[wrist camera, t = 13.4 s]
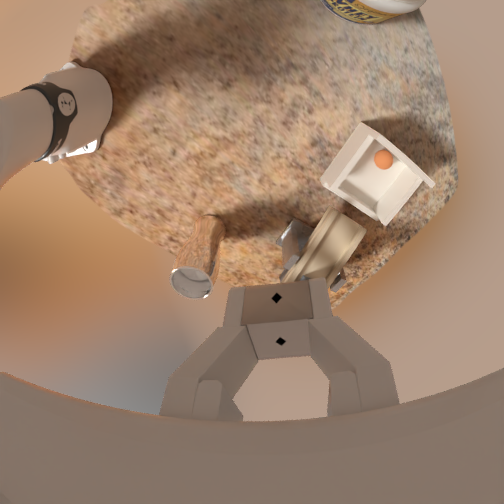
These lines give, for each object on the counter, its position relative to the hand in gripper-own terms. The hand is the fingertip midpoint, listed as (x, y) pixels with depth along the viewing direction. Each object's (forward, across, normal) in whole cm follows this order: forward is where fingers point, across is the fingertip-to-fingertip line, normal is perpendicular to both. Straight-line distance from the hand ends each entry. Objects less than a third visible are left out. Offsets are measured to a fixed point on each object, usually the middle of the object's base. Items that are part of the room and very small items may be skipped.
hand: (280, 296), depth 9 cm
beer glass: (+37, +15, +18) cm, 44 cm away
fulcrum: (+37, -3, +24) cm, 44 cm away
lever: (+34, -4, +23) cm, 41 cm away
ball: (+35, -16, +8) cm, 39 cm away
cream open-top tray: (+37, -14, +11) cm, 41 cm away
